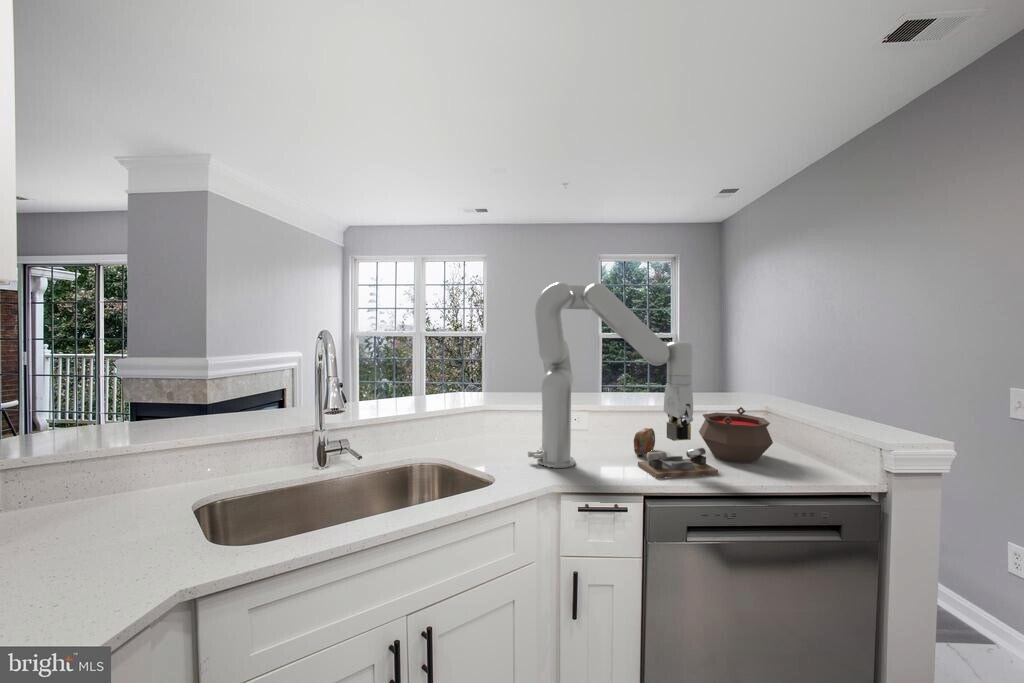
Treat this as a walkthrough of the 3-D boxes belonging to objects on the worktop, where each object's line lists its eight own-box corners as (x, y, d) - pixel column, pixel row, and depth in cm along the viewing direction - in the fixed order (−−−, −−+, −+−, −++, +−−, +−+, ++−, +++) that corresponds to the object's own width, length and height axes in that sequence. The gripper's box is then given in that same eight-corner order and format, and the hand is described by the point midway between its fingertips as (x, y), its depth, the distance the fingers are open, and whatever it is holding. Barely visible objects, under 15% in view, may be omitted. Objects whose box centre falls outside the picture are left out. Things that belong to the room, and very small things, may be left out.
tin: (640, 458, 158) (641, 434, 157) (631, 456, 160) (632, 433, 159) (655, 449, 170) (656, 426, 169) (647, 447, 171) (648, 425, 171)
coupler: (673, 440, 142) (673, 424, 142) (666, 437, 146) (666, 422, 146) (690, 439, 143) (690, 423, 143) (683, 436, 147) (683, 421, 147)
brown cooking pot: (766, 472, 143) (768, 421, 143) (688, 458, 158) (689, 411, 157) (777, 455, 163) (779, 410, 162) (706, 443, 177) (707, 402, 176)
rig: (656, 478, 137) (656, 458, 137) (637, 466, 149) (638, 447, 149) (718, 474, 141) (718, 455, 141) (695, 462, 153) (696, 444, 153)
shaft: (694, 466, 144) (694, 452, 144) (683, 463, 148) (684, 449, 147) (707, 463, 148) (707, 449, 147) (696, 460, 151) (697, 446, 151)
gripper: (655, 377, 151) (654, 431, 152) (683, 384, 135) (682, 445, 136) (675, 376, 153) (674, 430, 154) (706, 383, 136) (705, 443, 137)
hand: (678, 436), depth 145 cm, fingers closed on coupler, 4 cm apart
